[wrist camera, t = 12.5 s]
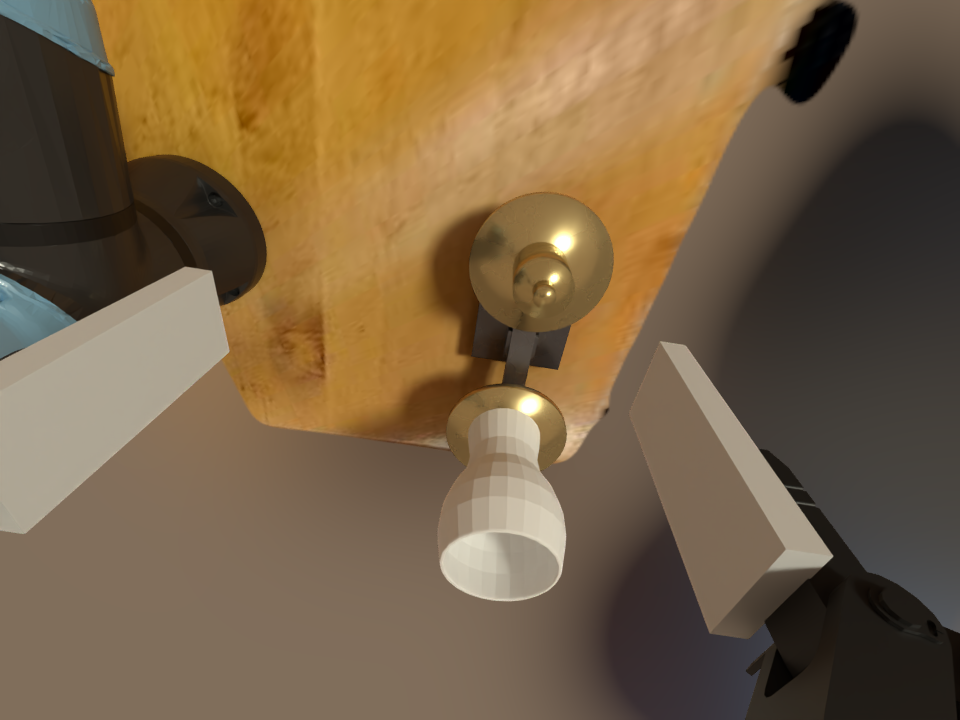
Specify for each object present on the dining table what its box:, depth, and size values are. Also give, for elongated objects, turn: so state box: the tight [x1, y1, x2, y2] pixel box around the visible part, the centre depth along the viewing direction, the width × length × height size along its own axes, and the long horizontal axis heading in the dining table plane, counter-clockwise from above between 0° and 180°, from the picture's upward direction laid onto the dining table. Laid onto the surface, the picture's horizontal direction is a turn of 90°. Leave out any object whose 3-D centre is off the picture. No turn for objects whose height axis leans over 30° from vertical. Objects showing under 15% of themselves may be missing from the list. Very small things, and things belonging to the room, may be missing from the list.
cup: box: [437, 408, 566, 601], centre depth 38 cm, size 11×11×15 cm
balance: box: [446, 192, 614, 471], centre depth 42 cm, size 13×31×12 cm, turn 172°
